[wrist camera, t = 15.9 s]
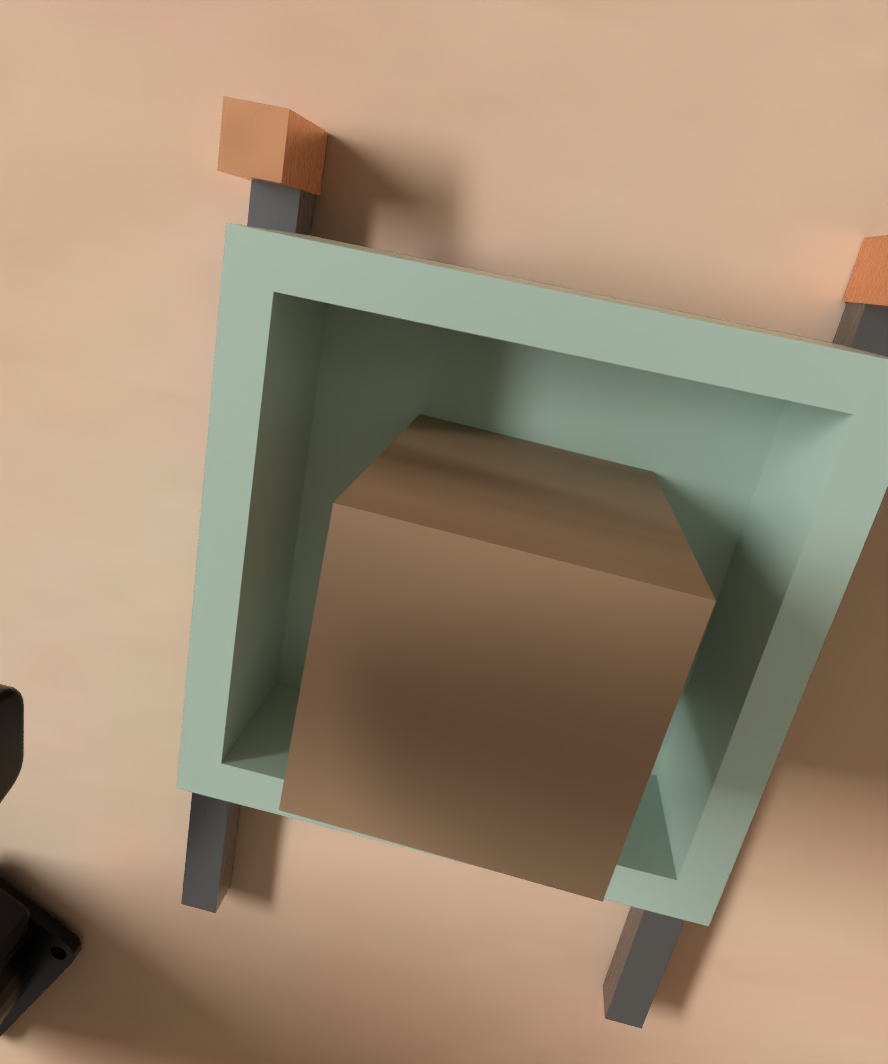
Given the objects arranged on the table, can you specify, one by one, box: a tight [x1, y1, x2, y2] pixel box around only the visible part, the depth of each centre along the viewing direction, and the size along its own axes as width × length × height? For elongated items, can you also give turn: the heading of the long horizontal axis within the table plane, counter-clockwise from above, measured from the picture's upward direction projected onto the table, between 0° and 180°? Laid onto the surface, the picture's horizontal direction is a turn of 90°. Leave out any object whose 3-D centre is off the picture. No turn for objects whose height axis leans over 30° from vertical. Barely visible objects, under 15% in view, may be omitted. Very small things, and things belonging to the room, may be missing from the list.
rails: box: [182, 96, 888, 1028], centre depth 18 cm, size 20×13×2 cm, turn 169°
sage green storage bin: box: [177, 223, 888, 926], centre depth 15 cm, size 10×10×5 cm
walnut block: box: [279, 414, 716, 901], centre depth 12 cm, size 4×4×6 cm
